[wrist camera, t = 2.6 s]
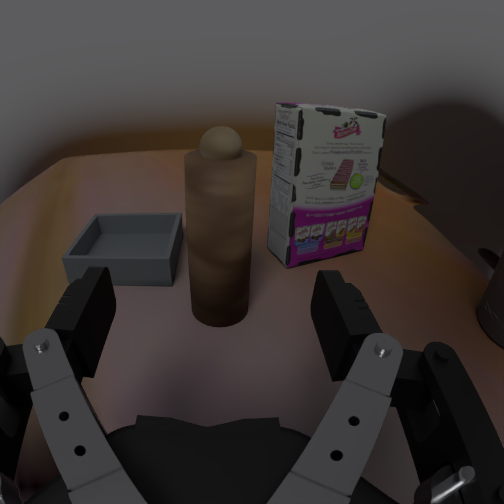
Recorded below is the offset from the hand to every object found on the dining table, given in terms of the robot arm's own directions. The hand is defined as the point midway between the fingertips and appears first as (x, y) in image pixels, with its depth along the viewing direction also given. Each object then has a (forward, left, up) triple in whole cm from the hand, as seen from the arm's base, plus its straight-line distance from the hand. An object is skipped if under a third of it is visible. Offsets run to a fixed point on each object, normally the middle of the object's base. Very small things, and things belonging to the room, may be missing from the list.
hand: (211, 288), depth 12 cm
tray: (+10, -19, -11) cm, 24 cm away
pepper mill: (0, -11, -11) cm, 16 cm away
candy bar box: (-11, -21, -11) cm, 27 cm away
